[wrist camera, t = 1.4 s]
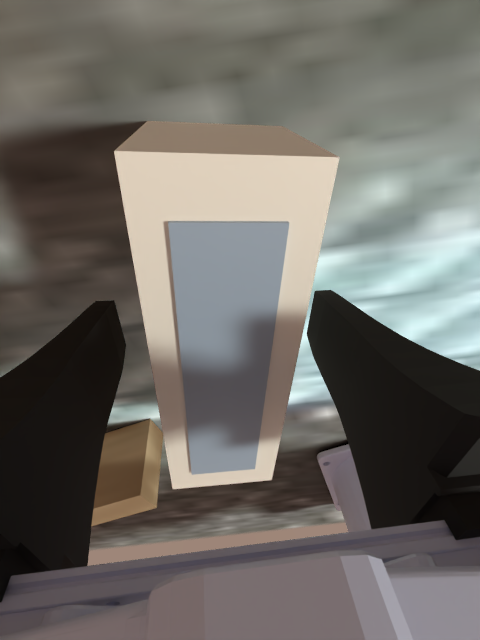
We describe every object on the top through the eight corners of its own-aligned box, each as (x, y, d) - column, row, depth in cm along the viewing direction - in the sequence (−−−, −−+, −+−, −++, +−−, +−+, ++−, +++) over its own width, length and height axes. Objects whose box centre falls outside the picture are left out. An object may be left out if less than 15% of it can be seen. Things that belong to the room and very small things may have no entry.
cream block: (253, 386, 17) (272, 482, 13) (177, 391, 17) (172, 491, 13) (281, 125, 10) (341, 158, 6) (148, 120, 9) (113, 151, 5)
